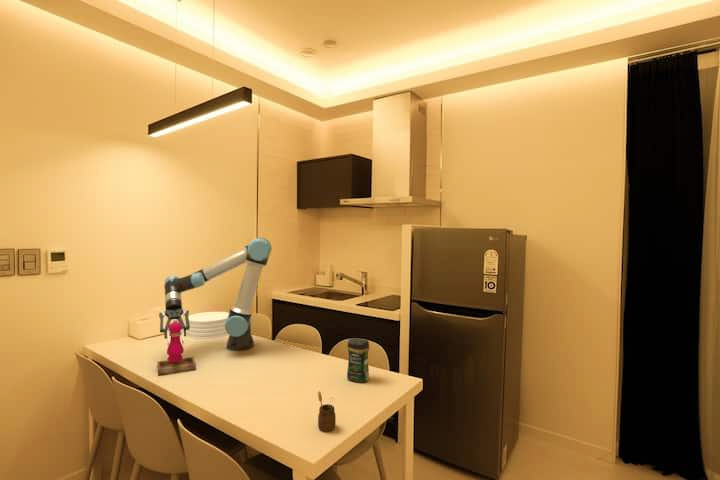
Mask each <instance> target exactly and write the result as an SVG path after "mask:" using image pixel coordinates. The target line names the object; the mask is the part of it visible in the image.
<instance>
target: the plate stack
mask: <svg viewBox="0 0 720 480" xmlns="http://www.w3.org/2000/svg"><path fill="white" fill-rule="evenodd" d="M228 315H229V312H227V311H207V312H205V311H204V312H199V313H198V312H197V313H193V314H191V315H188V317H189V324H190V328H189V330H186V337H187V338H188V339H192V340H213V339H219V338H223V337H227V336H229V334H228V333H227V332H226V330H225V322H226V320H227V319H228Z"/></svg>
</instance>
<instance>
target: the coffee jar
mask: <svg viewBox="0 0 720 480" xmlns="http://www.w3.org/2000/svg"><path fill="white" fill-rule="evenodd" d="M369 350H370V342H369V340H368V339H362V338H356V337H352V338H350V339H349V340H348V341H347V353H348V362H347V363H348V365H347V374H346V378H347V380H348V381H351V382H355V383H366V382H367V381H368V380H369V378H370V369H369V356H368V355H369Z"/></svg>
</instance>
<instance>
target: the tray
mask: <svg viewBox="0 0 720 480" xmlns="http://www.w3.org/2000/svg"><path fill="white" fill-rule="evenodd" d="M196 367H197V364H196V361H195V358H194V356H189V357H188V356H187V357H182V360H181V361H178V362H169V361H168V359H167V360H162V361H161V360H160V361H157V376H158V377H160V376H161V377H162V376H166V375H174V374H179V373H185V372H192V371H196V369H197V368H196Z"/></svg>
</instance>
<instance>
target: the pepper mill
mask: <svg viewBox="0 0 720 480" xmlns="http://www.w3.org/2000/svg"><path fill="white" fill-rule="evenodd" d="M168 330H169V337H170V339H169V345H167V346H168V347H167V349H166V354H167V355H168V358H167V360H168V361H169V362H178V361H181V360H182V358H183V355H182V354H183V353H184V346H183V344H182V340H181V336H182V333H181V331H182V324H181V323H179V321H178V320H177V319H173V322H170V325H169V328H168Z"/></svg>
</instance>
